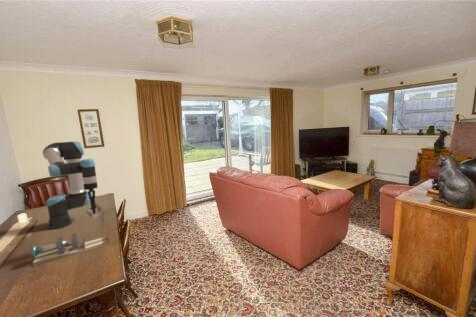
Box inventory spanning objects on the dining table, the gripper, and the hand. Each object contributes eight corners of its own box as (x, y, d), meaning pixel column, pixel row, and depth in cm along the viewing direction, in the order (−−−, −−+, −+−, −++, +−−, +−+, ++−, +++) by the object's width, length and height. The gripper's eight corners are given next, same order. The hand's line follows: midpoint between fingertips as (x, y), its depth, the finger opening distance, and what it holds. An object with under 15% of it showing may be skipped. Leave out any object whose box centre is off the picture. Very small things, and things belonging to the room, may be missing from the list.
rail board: (36, 257, 128) (36, 254, 128) (108, 238, 148) (108, 236, 148) (33, 265, 120) (32, 263, 120) (109, 244, 140) (109, 242, 140)
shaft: (32, 259, 121) (30, 248, 120) (34, 254, 126) (32, 244, 125) (67, 250, 130) (66, 239, 129) (68, 245, 135) (67, 235, 134)
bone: (85, 218, 140) (85, 203, 144) (86, 220, 145) (87, 205, 149) (101, 216, 144) (101, 201, 148) (102, 218, 149) (102, 204, 153)
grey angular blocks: (60, 250, 134) (58, 236, 133) (108, 238, 148) (106, 225, 147) (58, 258, 126) (56, 243, 125) (109, 244, 140) (107, 230, 139)
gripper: (83, 181, 149) (87, 213, 152) (82, 186, 133) (88, 222, 136) (96, 179, 153) (100, 210, 156) (97, 184, 137) (102, 219, 140)
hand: (94, 216), depth 146 cm, fingers closed on bone, 7 cm apart
